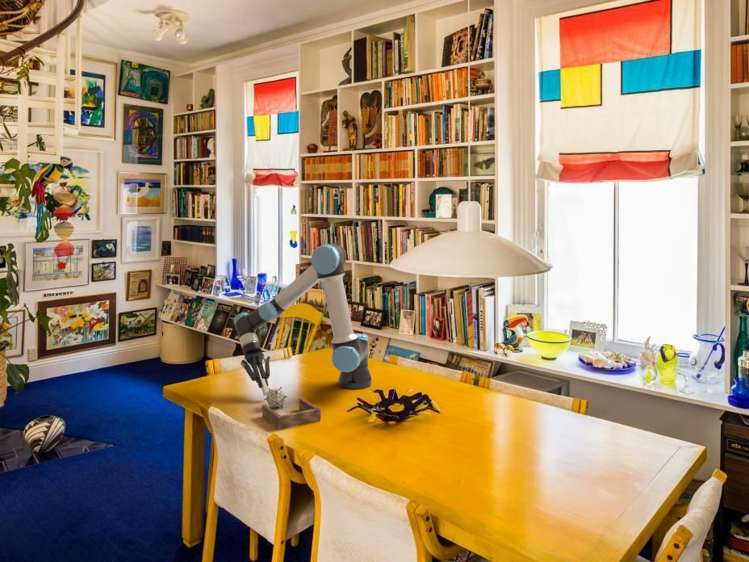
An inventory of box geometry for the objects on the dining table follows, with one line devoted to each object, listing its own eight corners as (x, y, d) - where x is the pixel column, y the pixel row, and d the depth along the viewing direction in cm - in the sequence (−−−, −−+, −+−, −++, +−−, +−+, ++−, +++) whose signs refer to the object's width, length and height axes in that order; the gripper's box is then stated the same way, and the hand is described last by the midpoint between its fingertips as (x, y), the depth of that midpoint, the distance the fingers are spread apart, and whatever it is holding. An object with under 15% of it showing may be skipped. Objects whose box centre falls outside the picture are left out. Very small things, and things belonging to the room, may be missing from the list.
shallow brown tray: (302, 408, 236) (302, 397, 235) (320, 420, 223) (320, 409, 223) (262, 416, 227) (262, 405, 226) (278, 429, 214) (278, 417, 213)
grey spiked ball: (278, 418, 236) (281, 403, 229) (259, 409, 237) (261, 394, 230) (289, 401, 242) (291, 386, 236) (270, 392, 244) (272, 378, 237)
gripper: (262, 348, 262) (278, 395, 250) (233, 352, 255) (248, 401, 243) (267, 339, 257) (283, 386, 245) (238, 342, 250) (253, 391, 238)
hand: (266, 393), depth 244 cm, fingers closed
